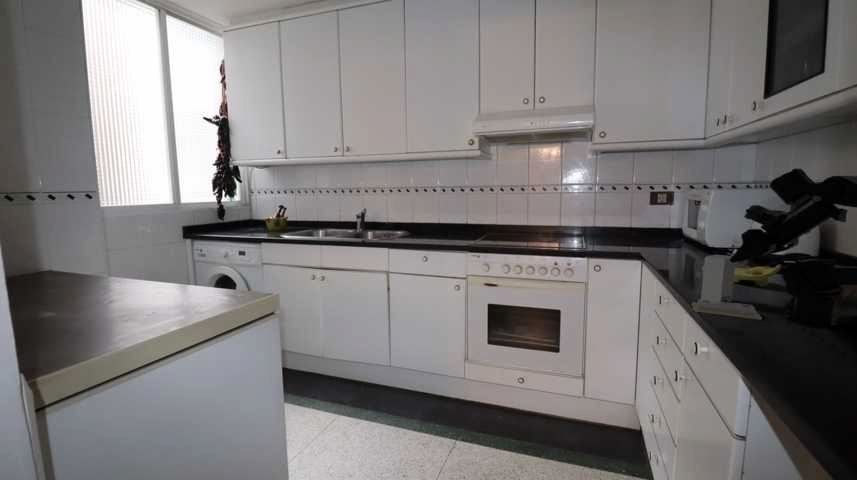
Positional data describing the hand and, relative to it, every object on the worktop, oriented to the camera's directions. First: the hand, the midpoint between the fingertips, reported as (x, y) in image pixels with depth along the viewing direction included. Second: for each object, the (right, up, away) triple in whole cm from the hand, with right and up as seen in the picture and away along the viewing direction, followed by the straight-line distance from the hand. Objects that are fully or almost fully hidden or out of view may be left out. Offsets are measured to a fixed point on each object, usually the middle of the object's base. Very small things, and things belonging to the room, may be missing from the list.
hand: (739, 259), depth 103 cm
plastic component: (+20, -9, +26) cm, 34 cm away
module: (-2, -11, +5) cm, 13 cm away
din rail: (-6, -13, -3) cm, 15 cm away
